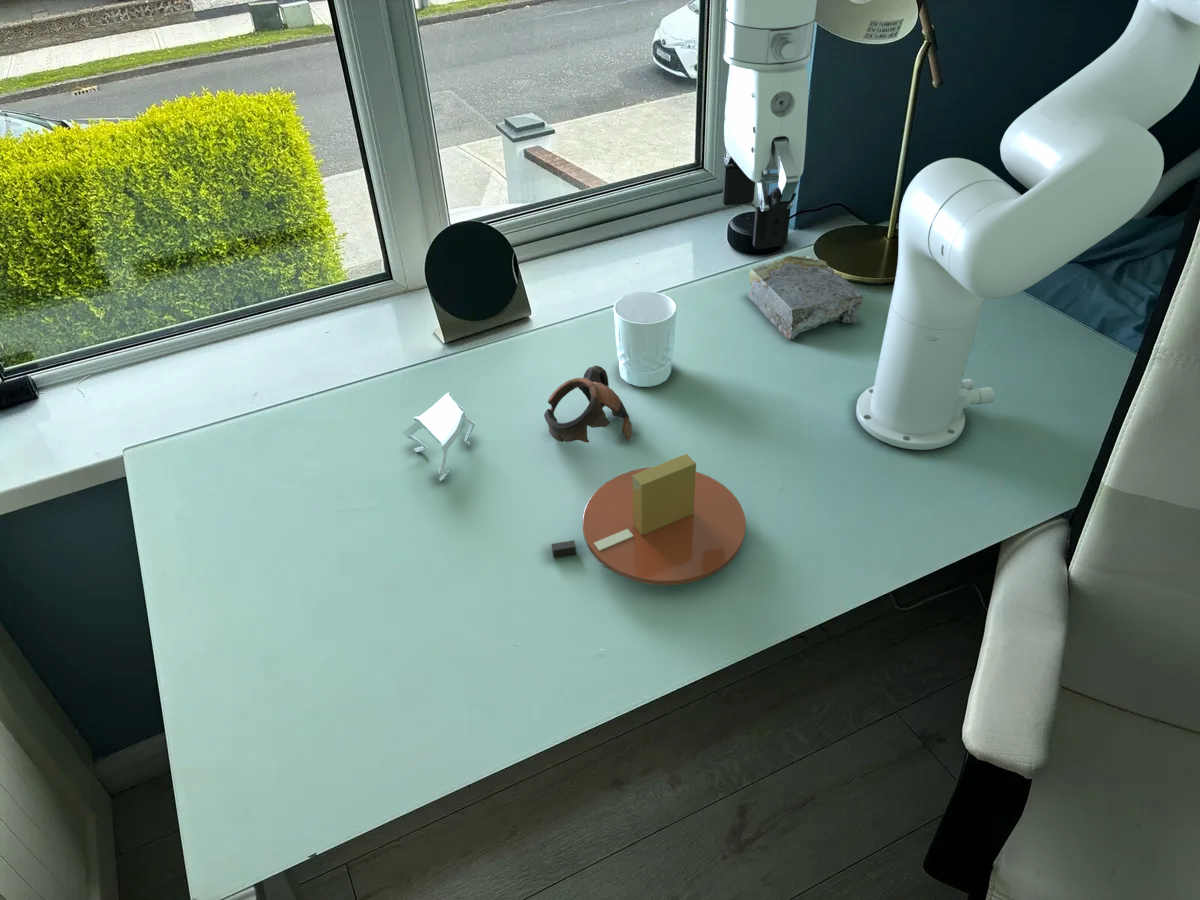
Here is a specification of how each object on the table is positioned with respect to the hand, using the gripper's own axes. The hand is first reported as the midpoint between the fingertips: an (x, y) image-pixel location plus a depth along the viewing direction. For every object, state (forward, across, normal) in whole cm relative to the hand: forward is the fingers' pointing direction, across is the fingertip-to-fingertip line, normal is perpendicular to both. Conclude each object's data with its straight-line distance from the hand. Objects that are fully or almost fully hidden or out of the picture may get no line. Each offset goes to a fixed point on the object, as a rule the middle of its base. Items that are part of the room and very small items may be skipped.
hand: (753, 223), depth 89 cm
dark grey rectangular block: (+28, -13, +15) cm, 35 cm away
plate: (+26, -13, +12) cm, 32 cm away
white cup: (+28, +17, +7) cm, 34 cm away
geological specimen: (+28, +27, -18) cm, 43 cm away
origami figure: (+28, +6, +34) cm, 45 cm away
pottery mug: (+28, +7, +16) cm, 33 cm away
